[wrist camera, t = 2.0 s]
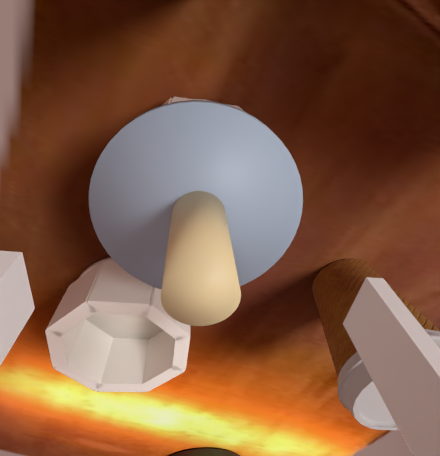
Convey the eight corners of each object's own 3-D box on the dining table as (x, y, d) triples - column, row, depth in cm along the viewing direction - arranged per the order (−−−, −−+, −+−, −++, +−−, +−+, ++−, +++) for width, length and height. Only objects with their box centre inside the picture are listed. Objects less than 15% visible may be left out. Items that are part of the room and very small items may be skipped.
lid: (272, 290, 23) (305, 393, 16) (99, 279, 21) (54, 389, 14) (324, 117, 17) (415, 164, 10) (86, 82, 15) (-6, 110, 8)
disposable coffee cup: (281, 307, 32) (321, 427, 22) (323, 234, 28) (399, 342, 18) (356, 322, 35) (425, 438, 24) (406, 256, 30) (517, 365, 20)
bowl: (184, 340, 34) (182, 392, 29) (79, 336, 32) (57, 391, 27) (194, 259, 28) (194, 306, 23) (68, 250, 27) (38, 298, 22)
